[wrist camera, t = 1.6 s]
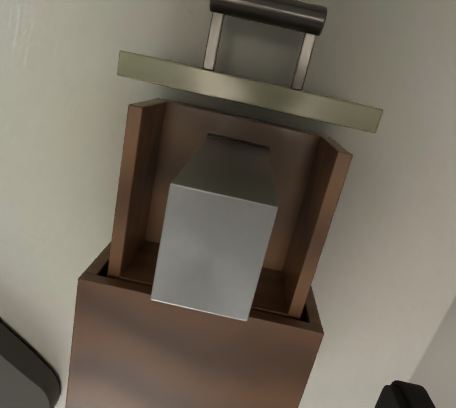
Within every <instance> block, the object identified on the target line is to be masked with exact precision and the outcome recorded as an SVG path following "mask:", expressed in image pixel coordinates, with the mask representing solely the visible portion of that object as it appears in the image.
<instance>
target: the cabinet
mask: <svg viewBox="0 0 456 408" xmlns="http://www.w3.org/2000/svg"><path fill="white" fill-rule="evenodd" d="M110 249H111V242H110V243H109V244H108V246H107V247H106V248H105V249H104V250H103V251H102V252H101V253H100V255H99V256H98V257H97V258H96V259H95V260H94V261H93V262H92V264H91V265H90V266H89V267H88V268H87V269H86V270H85V272H84V273H83V274H82V275H81V276H80V277H79V278H78V286H77V296H76V307H75V317H74V327H73V337H72V347H71V357H70V368H69V378H68V388H67V398H66V408H298V406H299V404H300V401H301V398H302V395H303V392H304V389H305V387H306V384H307V381H308V378H309V375H310V372H311V370H312V367H313V364H314V361H315V358H316V355H317V353H318V350H319V347H320V344H321V341H322V338H323V336H324V332H323V328H322V325H321V321H320V317H319V314H318V310H317V306H316V302H315V298H314V295H313V291H312V287H311V286H310V289H309V292H308V295H307V298H306V301H305V305H304V308H303V311H302V314H301V317H300V320H294V319H290V318H285V317H281V316H276V315H272V314H268V313H263V312H259V311H254V310H250V313H249V317H248V320H247V321H243V320H239V319H234V318H230V317H225V316H221V315H216V314H212V313H208V312H203V311H199V310H194V309H190V308H185V307H181V306H176V305H172V304H168V303H163V302H159V301H154V300H151V293H152V287H148V286H143V285H139V284H135V283H130V282H126V281H121V280H117V279H112V278H108V277H107V273H108V265H109V257H110Z"/></svg>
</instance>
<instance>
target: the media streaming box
mask: <svg viewBox="0 0 456 408" xmlns="http://www.w3.org/2000/svg"><path fill="white" fill-rule="evenodd" d="M59 394H60V389H59V384H58V381H57V379H56V377H55V375H54V373H53V372H52V371H51V370H50V369H49V368H48V367H47V366H46V365H45V364H44V363H43V362H42V361H41V360H40V359H39V358H38V357H37V356H36V355H35V354H34V353H33V352H32V351H31V350H30V349H29V348H28V347H27V346H26V345H25V344H24V343H23V342H21V341H20V340H19V339H18V338H17V337H16V336H15V335H14V334H13V333H12V332H10V331H9V330H8V329H7V328H6V327H5V326H4V325H3V324H1V323H0V408H54V406H55V405H56V403H57V401H58V399H59Z"/></svg>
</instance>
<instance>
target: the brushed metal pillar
mask: <svg viewBox="0 0 456 408" xmlns="http://www.w3.org/2000/svg"><path fill="white" fill-rule="evenodd" d="M269 152H270V147H269V146H265V145H261V144H257V143H252V142H248V141H243V140H239V139H234V138H230V137H226V136H221V135H217V134H212V133H208V134H207V138H206V140H205V141H204V143H203V144H202V145H201V146H200V148H199V149H198V150H197V151H196V152H195V154H194V155H193V156H192V157H191V159H190V160H189V161H188V162H187V164H186V165H185V166H184V167H183V169H182V170H181V171H180V172H179V174H178V175H177V176H176V177H175V178H174V180H173V181H172V182H171V183H170V188H169V194H168V200H167V205H166V211H165V217H164V223H163V229H162V235H161V240H160V246H159V252H158V258H157V264H156V270H155V276H154V281H153V287H152V293H151V300H154V301H159V302H163V303H168V304H172V305H176V306H181V307H185V308H190V309H194V310H199V311H203V312H208V313H212V314H216V315H221V316H225V317H230V318H234V319H239V320H243V321H247V320H248V317H249V313H250V309H251V305H252V302H253V298H254V294H255V291H256V287H257V283H258V280H259V276H260V272H261V269H262V265H263V261H264V258H265V254H266V250H267V247H268V243H269V239H270V236H271V232H272V228H273V225H274V221H275V217H276V213H277V210H278V206H277V200H276V194H275V188H274V182H273V176H272V170H271V164H270V157H269Z"/></svg>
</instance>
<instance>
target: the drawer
mask: <svg viewBox="0 0 456 408" xmlns="http://www.w3.org/2000/svg"><path fill="white" fill-rule="evenodd" d="M210 11H211V12H213V14H212V19H211V25H210V30H209V36H208V41H207V47H206V52H205V58H204V63H203V68H200V67H196V66H192V65H187V64H183V63H178V62H174V61H169V60H165V59H161V58H156V57H151V56H146V55H141V54H136V53H131V52H126V51H120V54H119V62H118V71H117V75H119V76H123V77H127V78H132V79H136V80H141V81H145V82H150V83H154V84H158V85H163V86H167V87H172V88H176V89H181V90H185V91H189V92H194V93H198V94H203V95H207V96H211V97H216V98H220V99H225V100H229V101H234V102H238V103H242V104H247V105H251V106H256V107H260V108H265V109H269V110H273V111H278V112H282V113H287V114H291V115H296V116H300V117H304V118H309V119H313V120H318V121H322V122H327V123H331V124H335V125H340V126H344V127H349V128H353V129H358V130H362V131H366V132H371V133H376V130H377V127H378V124H379V121H380V118H381V115H382V113H383V110H382V109H378V108H374V107H371V106H367V105H363V104H359V103H355V102H351V101H347V100H342V99H338V98H333V97H329V96H324V95H320V94H316V93H311V92H307V91H302V88H303V84H304V80H305V77H306V73H307V69H308V65H309V62H310V58H311V54H312V50H313V47H314V43H315V39H316V36H319V35H320V34H321V32H322V29H323V27H324V23H325V20H326V16H327V8H326V7H323V6H319V5H314V4H310V3H306V2H301V1H297V0H210ZM224 15H228V16H232V17H236V18H241V19H245V20H250V21H254V22H258V23H263V24H267V25H272V26H276V27H281V28H285V29H289V30H294V31H298V32H303V33H305V34H304V37H303V41H302V45H301V49H300V53H299V56H298V60H297V64H296V68H295V72H294V76H293V80H292V84H291V88H289V87H285V86H280V85H276V84H271V83H267V82H262V81H258V80H254V79H249V78H245V77H240V76H236V75H231V74H227V73H223V72H218V71H214V69H215V64H216V59H217V53H218V48H219V43H220V38H221V32H222V27H223V22H224V17H225V16H224ZM208 133H212V134H217V135H221V136H226V137H230V138H234V139H239V140H243V141H248V142H252V143H257V144H261V145H265V146H269V147H270V152H269V157H270V164H271V170H272V176H273V182H274V188H275V194H276V200H277V206H278V210H277V213H276V217H275V221H274V225H273V228H272V232H271V236H270V239H269V243H268V247H267V250H266V254H265V258H264V261H263V265H262V269H261V272H260V276H259V280H258V283H257V287H256V291H255V294H254V298H253V302H252V305H251V309H250V310H254V311H259V312H263V313H268V314H272V315H276V316H281V317H285V318H290V319H294V320H300V317H301V314H302V311H303V308H304V305H305V301H306V298H307V295H308V292H309V289H310V286H311V283H312V280H313V277H314V274H315V271H316V267H317V264H318V261H319V258H320V255H321V252H322V249H323V246H324V243H325V240H326V237H327V233H328V230H329V227H330V224H331V221H332V218H333V215H334V212H335V209H336V206H337V203H338V199H339V196H340V193H341V190H342V187H343V184H344V181H345V178H346V175H347V172H348V169H349V165H350V162H351V159H352V156H353V155H352V154H351V153H350V152H348V151H347V150H346V149H345V148H344V147H342V146H341V145H340V144H339V143H337V142H336V141H335V140H334V139H332V138H331V137H328V136H324V135H319V134H315V133H311V132H306V131H302V130H297V129H293V128H288V127H284V126H280V125H275V124H271V123H266V122H262V121H257V120H253V119H249V118H244V117H240V116H235V115H231V114H226V113H222V112H218V111H213V110H209V109H204V108H200V107H195V106H191V105H187V104H182V103H178V102H173V101H169V100H164V99H160V98H157V99H153V100H148V101H143V102H139V103H134V104H129V106H128V114H127V122H126V130H125V138H124V146H123V154H122V161H121V169H120V177H119V185H118V193H117V201H116V209H115V217H114V225H113V233H112V241H111V249H110V257H109V265H108V273H107V277H108V278H112V279H117V280H121V281H126V282H130V283H135V284H139V285H143V286H148V287H153V281H154V276H155V270H156V264H157V258H158V252H159V246H160V240H161V235H162V229H163V223H164V217H165V211H166V205H167V200H168V194H169V188H170V183H171V182H172V181H173V180H174V178H175V177H176V176H177V175H178V174H179V172H180V171H181V170H182V169H183V167H184V166H185V165H186V164H187V162H188V161H189V160H190V159H191V157H192V156H193V155H194V154H195V152H196V151H197V150H198V149H199V148H200V146H201V145H202V144H203V143H204V141H205V140H206V138H207V134H208Z"/></svg>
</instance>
